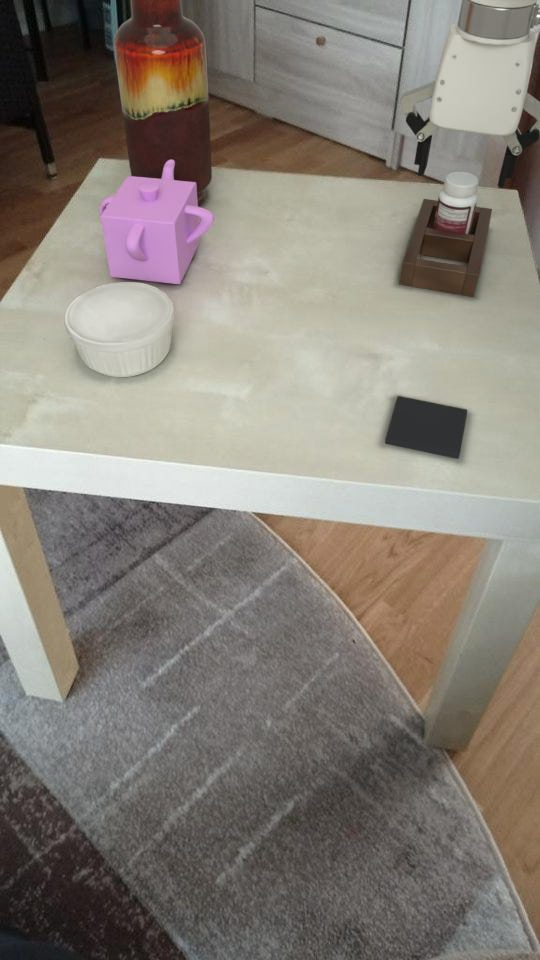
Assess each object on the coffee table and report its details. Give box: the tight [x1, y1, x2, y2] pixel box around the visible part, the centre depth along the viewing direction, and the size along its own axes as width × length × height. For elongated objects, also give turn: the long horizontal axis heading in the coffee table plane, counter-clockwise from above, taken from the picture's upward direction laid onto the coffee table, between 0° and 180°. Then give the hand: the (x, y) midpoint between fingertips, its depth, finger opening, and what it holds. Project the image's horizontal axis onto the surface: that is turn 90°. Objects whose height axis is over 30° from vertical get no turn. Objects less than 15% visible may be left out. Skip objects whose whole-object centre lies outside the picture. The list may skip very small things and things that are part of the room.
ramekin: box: [63, 281, 176, 378], centre depth 78 cm, size 11×11×5 cm
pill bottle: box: [432, 171, 479, 235], centre depth 93 cm, size 5×5×8 cm
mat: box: [384, 395, 468, 459], centre depth 72 cm, size 7×7×1 cm
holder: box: [398, 198, 493, 298], centre depth 92 cm, size 9×16×3 cm, turn 163°
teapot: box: [98, 160, 215, 285], centre depth 88 cm, size 18×14×10 cm
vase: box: [113, 0, 213, 207], centre depth 93 cm, size 11×11×26 cm
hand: (461, 176), depth 90 cm, fingers open, 9 cm apart
